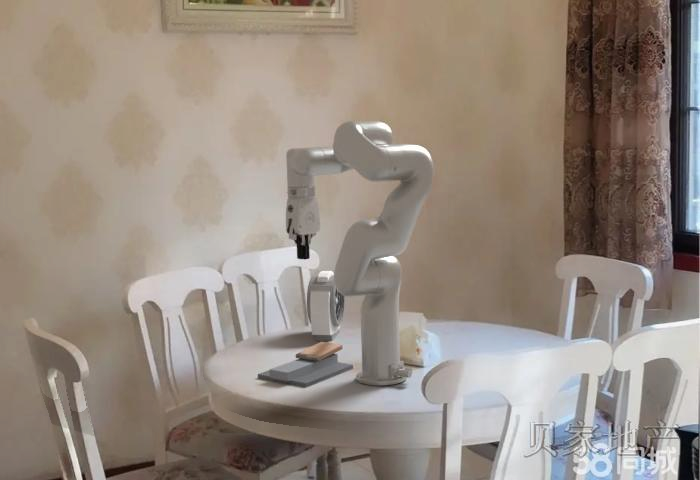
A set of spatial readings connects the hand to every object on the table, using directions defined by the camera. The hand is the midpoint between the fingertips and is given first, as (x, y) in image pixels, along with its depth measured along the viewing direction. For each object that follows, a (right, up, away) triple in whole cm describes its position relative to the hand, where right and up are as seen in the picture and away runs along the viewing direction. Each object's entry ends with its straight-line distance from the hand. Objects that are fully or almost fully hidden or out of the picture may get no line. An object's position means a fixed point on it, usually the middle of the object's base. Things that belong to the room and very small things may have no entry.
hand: (303, 258), depth 233 cm
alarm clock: (+6, -25, +24) cm, 35 cm away
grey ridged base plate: (+1, -29, -16) cm, 34 cm away
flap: (+5, -24, -12) cm, 27 cm away
